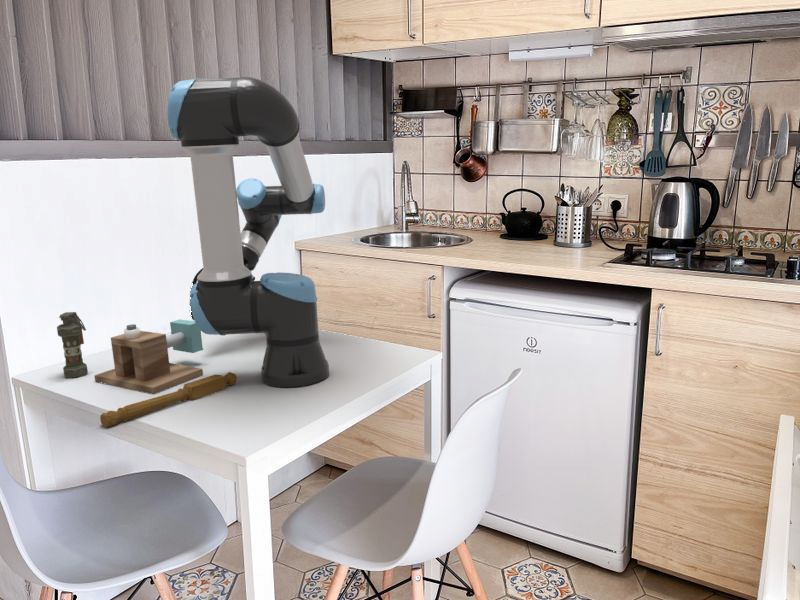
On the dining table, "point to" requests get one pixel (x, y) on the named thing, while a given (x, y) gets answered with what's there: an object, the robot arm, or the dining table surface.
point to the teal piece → (184, 336)
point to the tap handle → (170, 398)
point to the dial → (132, 332)
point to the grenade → (72, 344)
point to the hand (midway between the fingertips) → (206, 327)
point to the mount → (145, 364)
